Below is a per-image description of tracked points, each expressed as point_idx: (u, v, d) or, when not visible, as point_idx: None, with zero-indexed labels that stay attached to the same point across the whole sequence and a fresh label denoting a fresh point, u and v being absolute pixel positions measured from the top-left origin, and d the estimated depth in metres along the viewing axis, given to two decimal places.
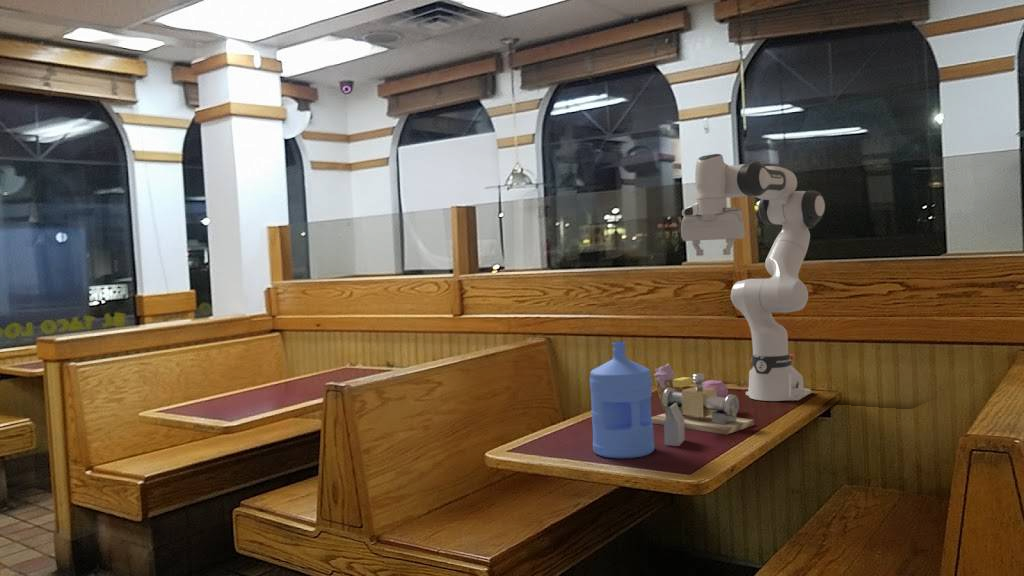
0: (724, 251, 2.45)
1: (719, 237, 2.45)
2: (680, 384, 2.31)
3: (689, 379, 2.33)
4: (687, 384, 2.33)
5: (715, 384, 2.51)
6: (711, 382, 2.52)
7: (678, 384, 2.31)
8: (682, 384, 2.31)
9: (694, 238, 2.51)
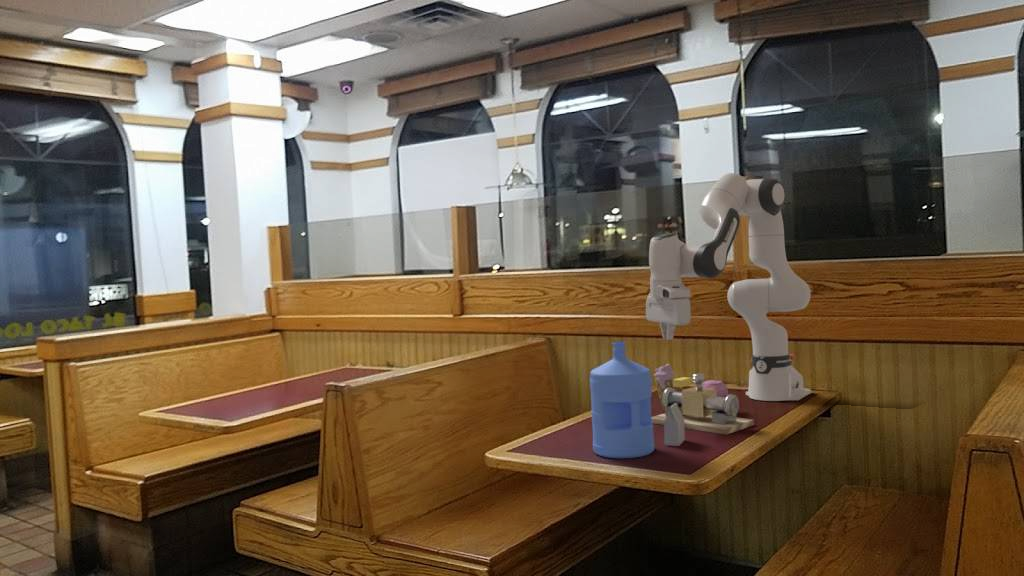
0: None
1: None
2: (680, 384, 2.31)
3: (689, 379, 2.33)
4: (687, 384, 2.33)
5: (715, 384, 2.51)
6: (711, 382, 2.52)
7: (678, 384, 2.31)
8: (682, 384, 2.31)
9: None
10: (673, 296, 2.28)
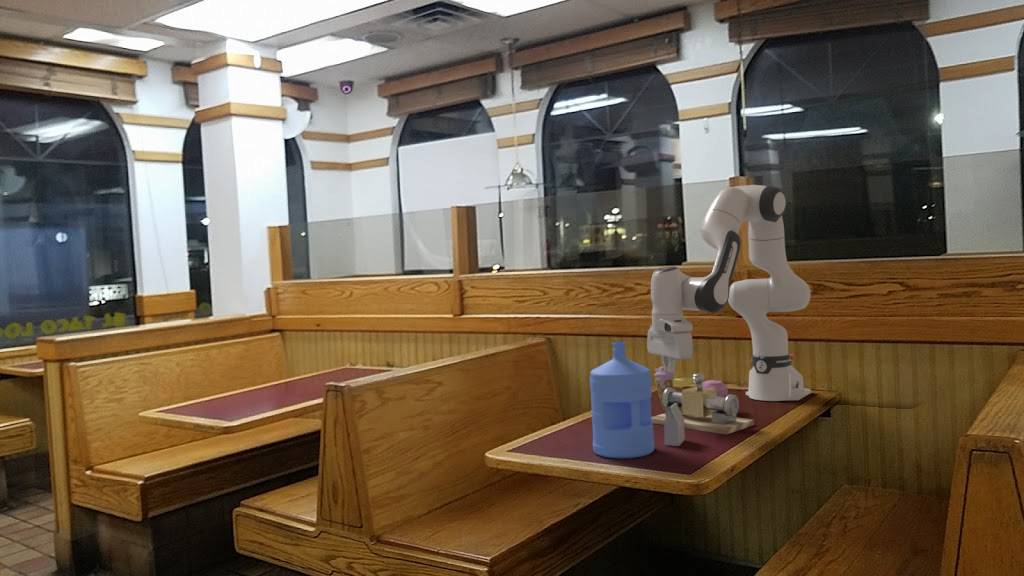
0: None
1: None
2: (680, 384, 2.31)
3: (689, 379, 2.33)
4: (687, 384, 2.33)
5: (715, 384, 2.51)
6: (711, 382, 2.52)
7: (678, 384, 2.31)
8: (682, 384, 2.31)
9: None
10: (675, 330, 2.29)
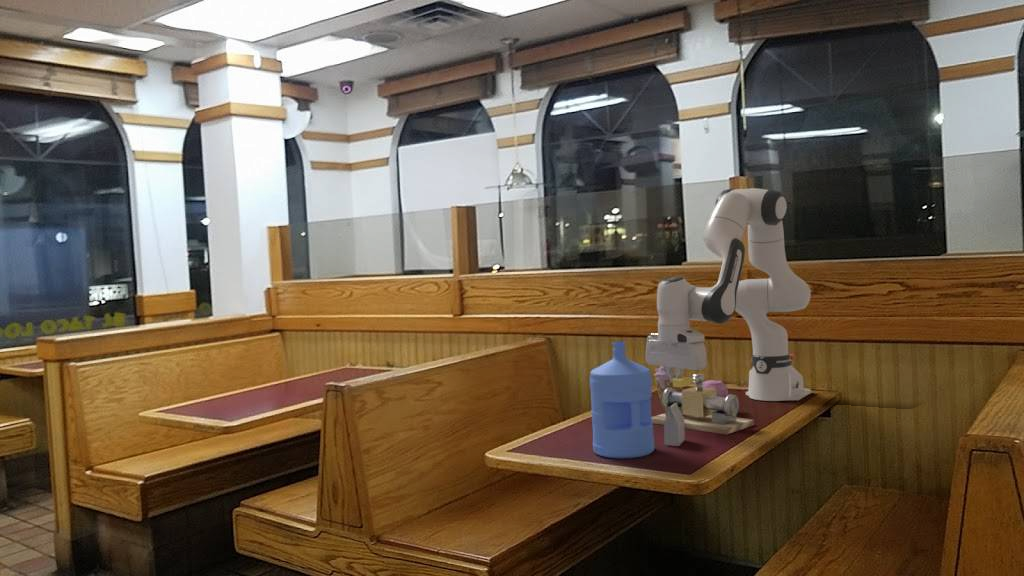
0: None
1: None
2: (680, 384, 2.31)
3: (689, 379, 2.33)
4: (687, 384, 2.33)
5: (715, 384, 2.51)
6: (711, 382, 2.52)
7: (678, 384, 2.31)
8: (682, 384, 2.31)
9: None
10: (691, 341, 2.27)
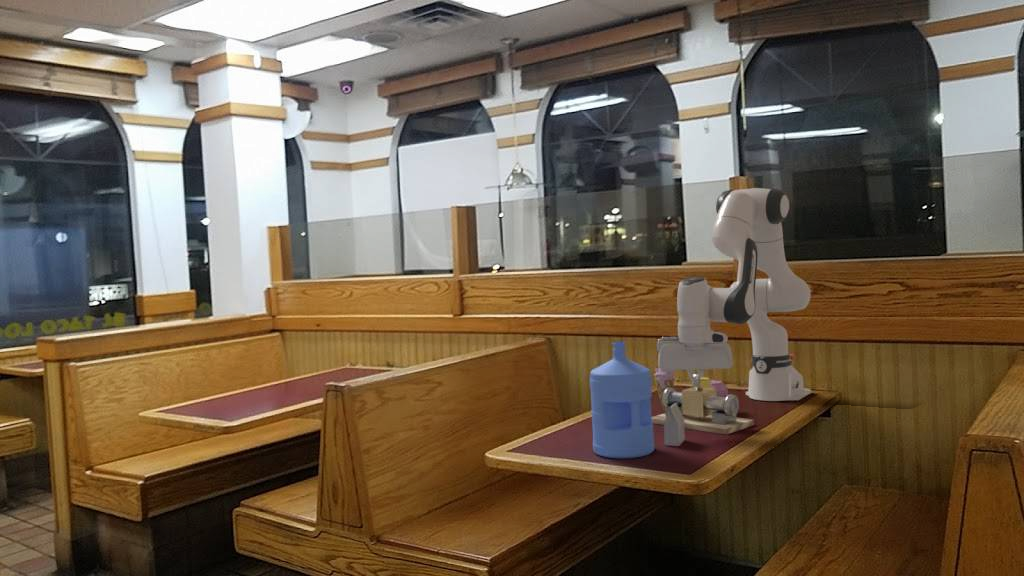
0: None
1: None
2: (711, 384, 2.28)
3: None
4: None
5: (715, 384, 2.51)
6: (711, 382, 2.52)
7: (708, 384, 2.28)
8: None
9: None
10: None
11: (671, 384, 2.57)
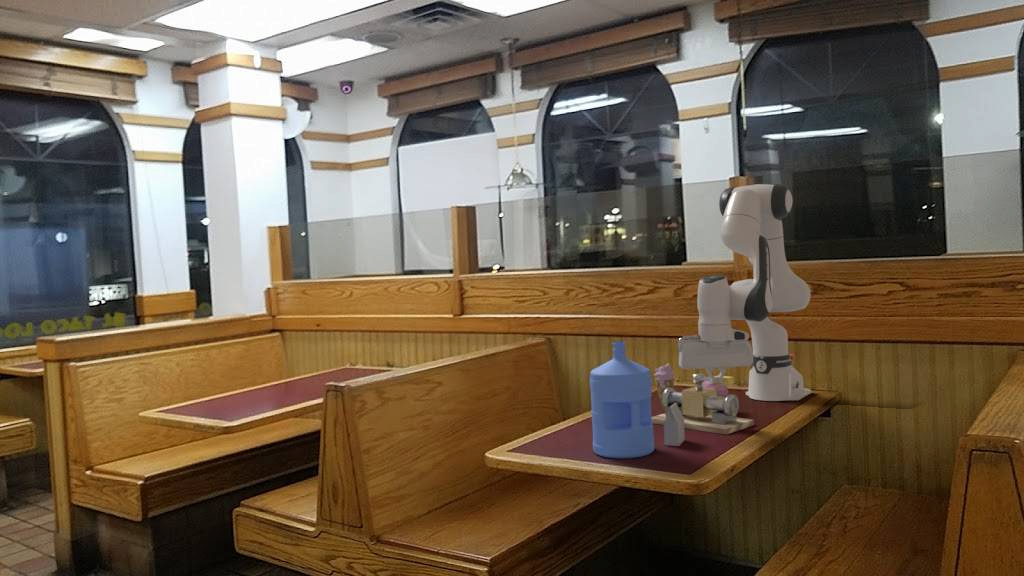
0: None
1: None
2: (733, 381, 2.32)
3: None
4: None
5: (715, 384, 2.51)
6: None
7: (732, 381, 2.32)
8: None
9: None
10: None
11: (671, 384, 2.57)
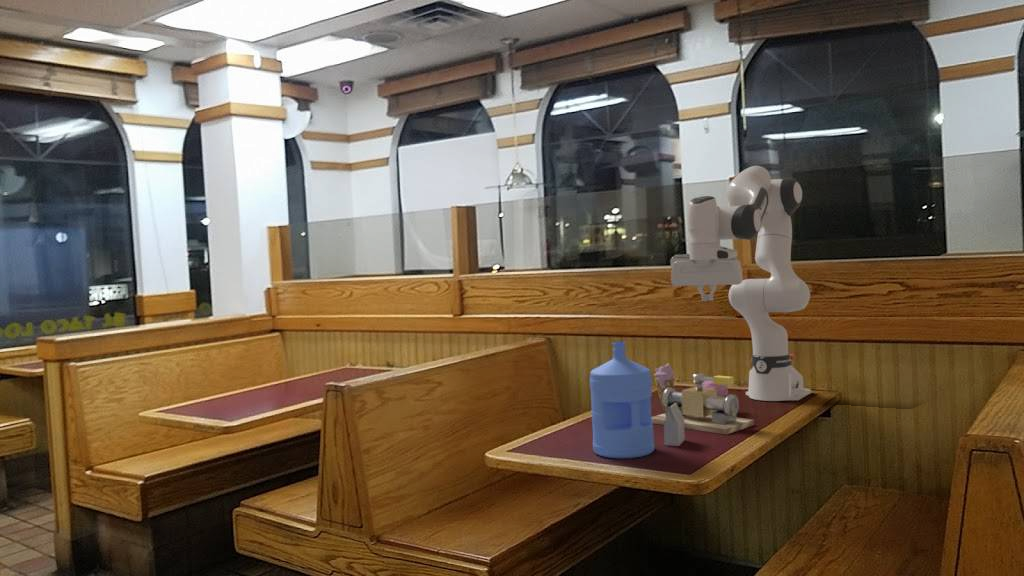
0: None
1: None
2: (733, 381, 2.32)
3: None
4: None
5: (715, 384, 2.51)
6: (711, 382, 2.52)
7: (732, 381, 2.32)
8: None
9: None
10: (732, 256, 2.33)
11: (671, 384, 2.57)
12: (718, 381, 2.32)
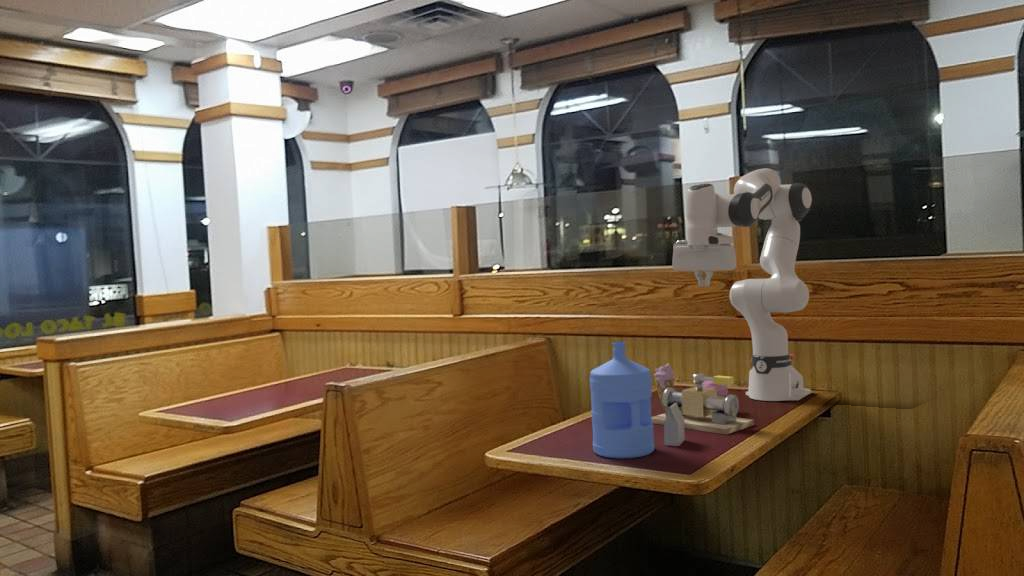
0: None
1: None
2: (733, 381, 2.32)
3: None
4: None
5: (715, 384, 2.51)
6: (711, 382, 2.52)
7: (732, 381, 2.32)
8: None
9: None
10: (723, 242, 2.37)
11: (671, 384, 2.57)
12: (718, 381, 2.32)
